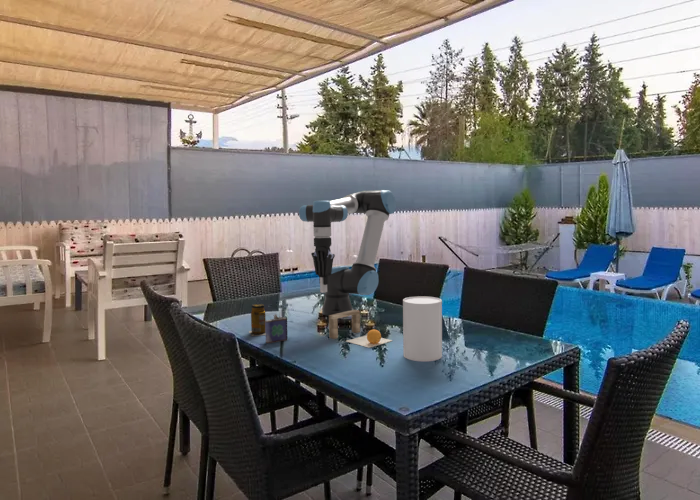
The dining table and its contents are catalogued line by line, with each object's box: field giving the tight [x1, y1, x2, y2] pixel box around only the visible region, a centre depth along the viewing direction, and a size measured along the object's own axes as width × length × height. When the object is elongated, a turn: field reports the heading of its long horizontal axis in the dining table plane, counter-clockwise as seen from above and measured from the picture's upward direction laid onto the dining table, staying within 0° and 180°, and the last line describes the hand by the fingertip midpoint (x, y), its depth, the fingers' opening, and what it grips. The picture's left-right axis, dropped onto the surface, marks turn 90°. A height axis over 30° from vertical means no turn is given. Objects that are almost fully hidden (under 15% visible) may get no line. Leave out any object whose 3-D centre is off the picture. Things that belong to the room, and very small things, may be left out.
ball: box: [367, 329, 382, 344], centre depth 201 cm, size 6×6×6 cm
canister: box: [402, 295, 443, 362], centre depth 184 cm, size 14×14×20 cm
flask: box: [265, 313, 288, 344], centre depth 207 cm, size 9×3×11 cm, turn 121°
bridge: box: [328, 309, 361, 340], centre depth 215 cm, size 3×14×9 cm, turn 133°
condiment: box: [248, 303, 267, 337], centre depth 220 cm, size 7×8×12 cm
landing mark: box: [345, 335, 393, 349], centre depth 205 cm, size 13×13×1 cm
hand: (323, 292), depth 223 cm, fingers closed
